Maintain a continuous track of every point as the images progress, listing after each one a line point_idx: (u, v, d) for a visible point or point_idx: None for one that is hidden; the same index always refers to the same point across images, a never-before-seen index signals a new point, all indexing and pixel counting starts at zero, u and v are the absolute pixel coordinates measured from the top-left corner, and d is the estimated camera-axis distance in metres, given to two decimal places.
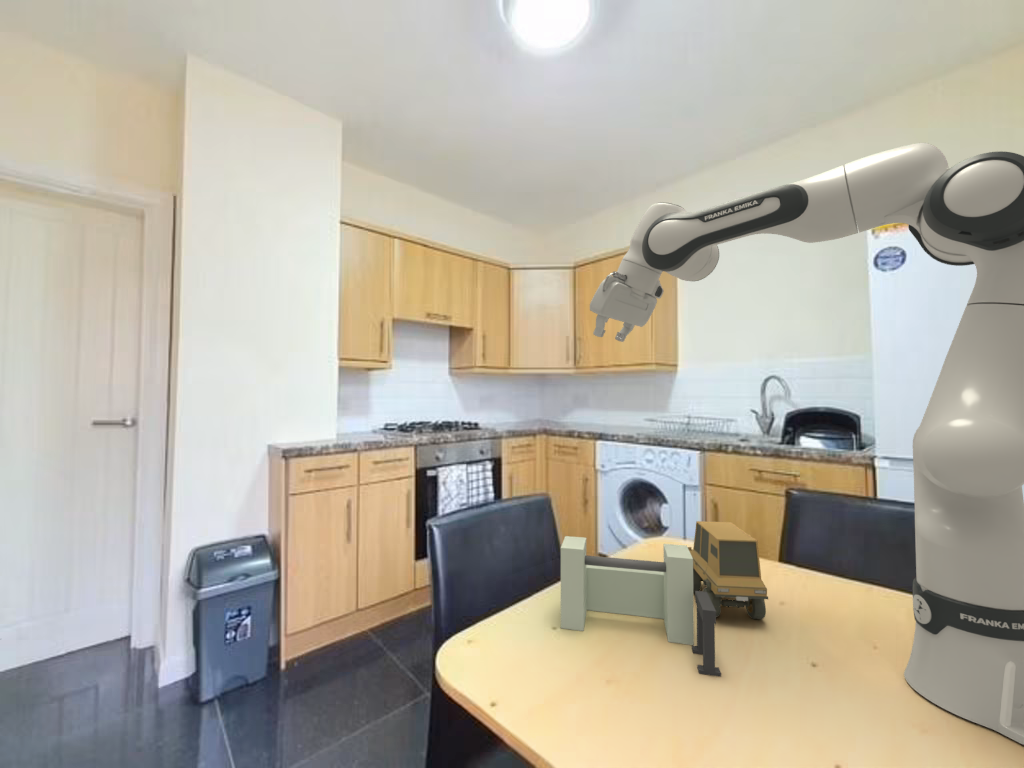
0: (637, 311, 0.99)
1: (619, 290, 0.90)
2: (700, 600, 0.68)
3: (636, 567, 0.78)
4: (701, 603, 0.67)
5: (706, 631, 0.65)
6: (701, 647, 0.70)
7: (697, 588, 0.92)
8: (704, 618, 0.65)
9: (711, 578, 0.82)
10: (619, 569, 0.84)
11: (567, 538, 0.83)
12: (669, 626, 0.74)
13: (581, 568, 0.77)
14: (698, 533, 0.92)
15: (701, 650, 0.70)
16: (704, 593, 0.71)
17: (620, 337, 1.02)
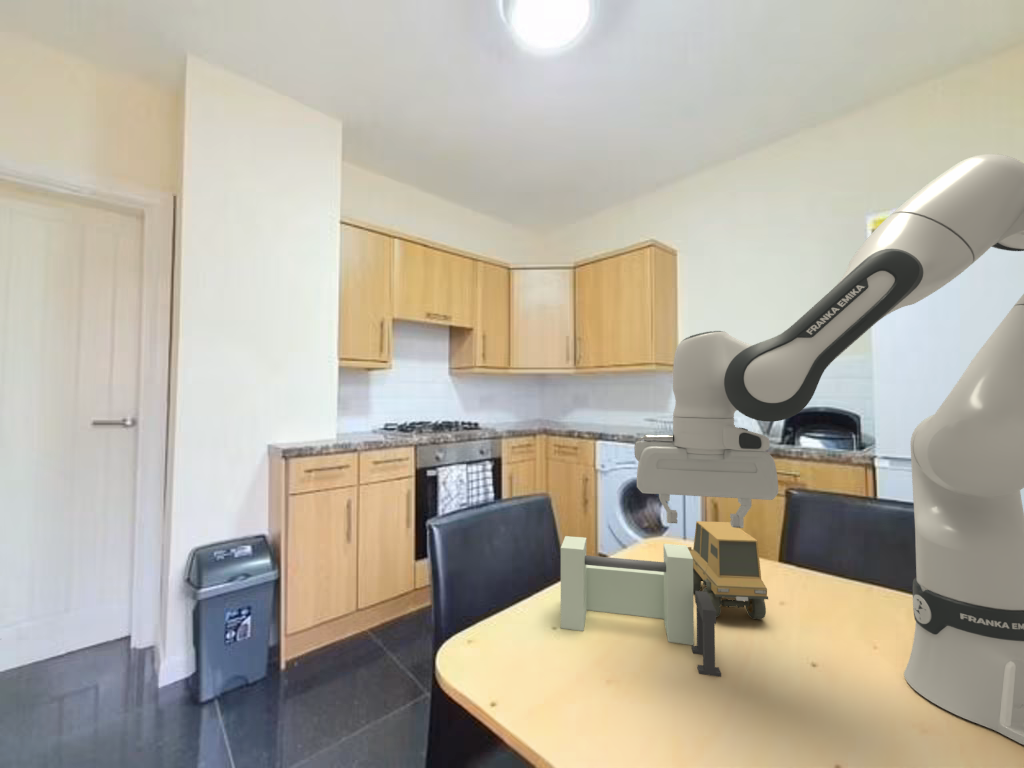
0: (730, 478, 0.66)
1: (656, 456, 0.69)
2: (700, 600, 0.68)
3: (636, 567, 0.78)
4: (701, 603, 0.67)
5: (706, 631, 0.65)
6: (701, 647, 0.70)
7: (697, 588, 0.92)
8: (704, 618, 0.65)
9: (711, 578, 0.82)
10: (619, 569, 0.84)
11: (567, 538, 0.83)
12: (669, 626, 0.74)
13: (581, 568, 0.77)
14: (698, 533, 0.92)
15: (701, 650, 0.70)
16: (704, 593, 0.71)
17: (732, 521, 0.67)
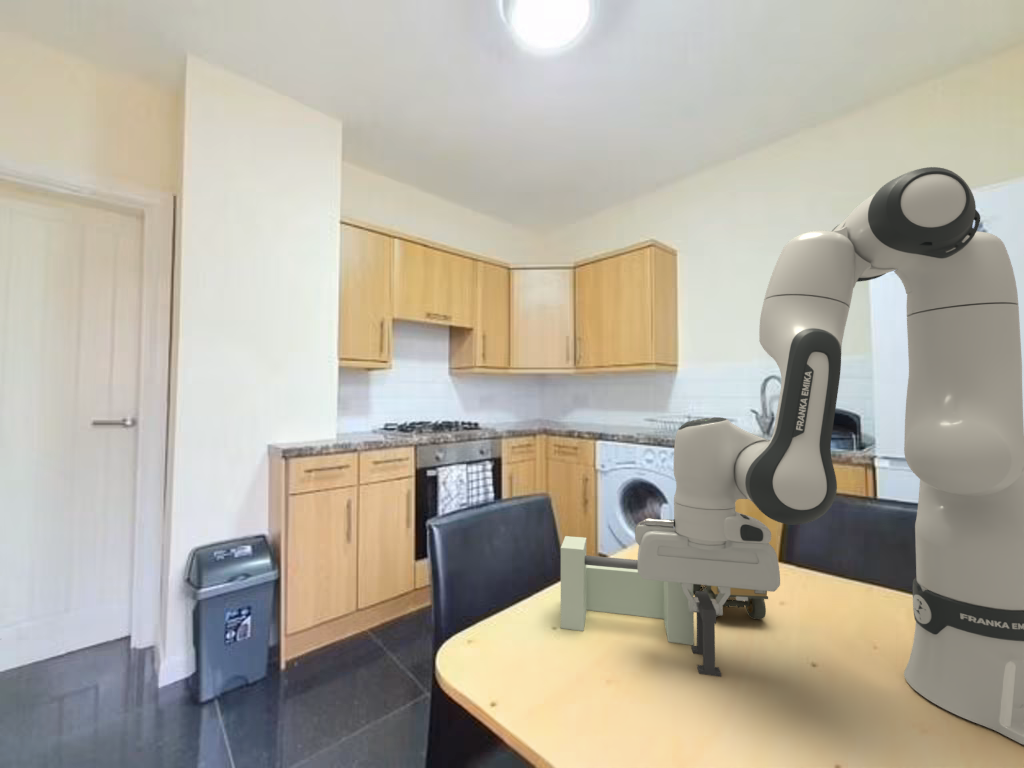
0: (732, 568, 0.66)
1: (657, 542, 0.69)
2: (700, 600, 0.68)
3: (636, 567, 0.78)
4: (701, 603, 0.67)
5: (706, 631, 0.65)
6: (701, 647, 0.70)
7: (697, 588, 0.92)
8: (704, 618, 0.65)
9: None
10: (619, 569, 0.84)
11: (567, 538, 0.83)
12: (669, 626, 0.74)
13: (581, 568, 0.77)
14: None
15: (701, 650, 0.70)
16: (704, 593, 0.71)
17: None
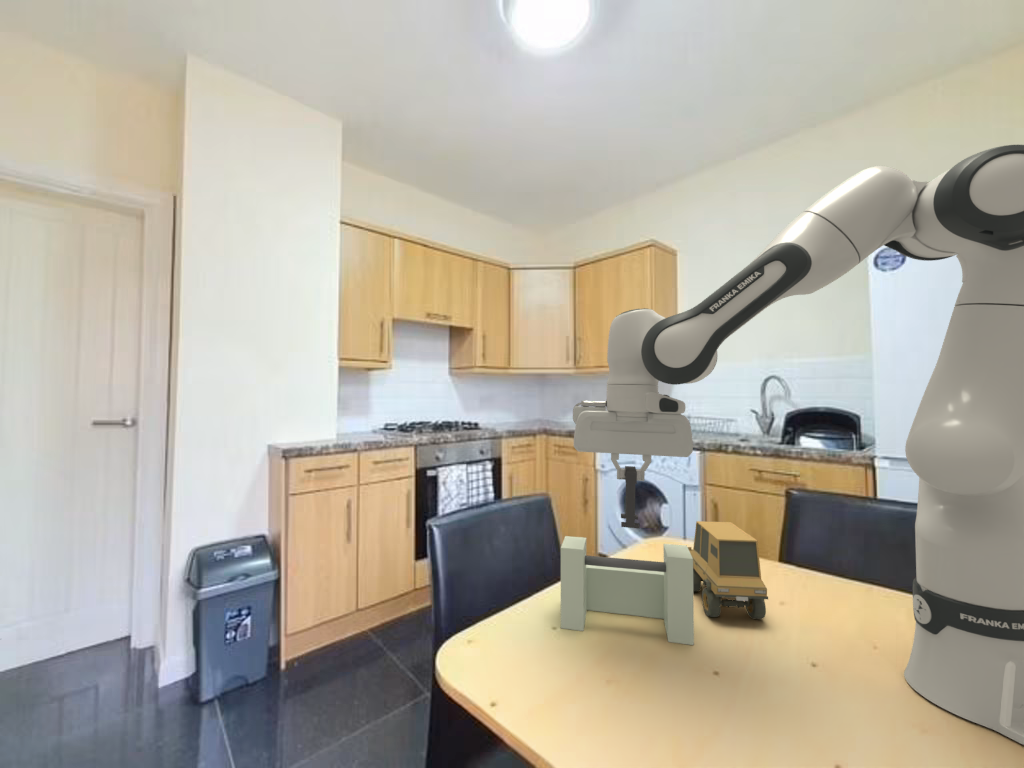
0: (652, 438, 0.76)
1: (590, 418, 0.78)
2: (626, 469, 0.78)
3: (636, 567, 0.78)
4: (626, 470, 0.77)
5: (628, 490, 0.75)
6: None
7: (697, 588, 0.92)
8: (627, 479, 0.75)
9: (711, 578, 0.82)
10: (619, 569, 0.84)
11: (567, 538, 0.83)
12: (669, 626, 0.74)
13: (581, 568, 0.77)
14: (698, 533, 0.92)
15: None
16: (632, 467, 0.81)
17: None
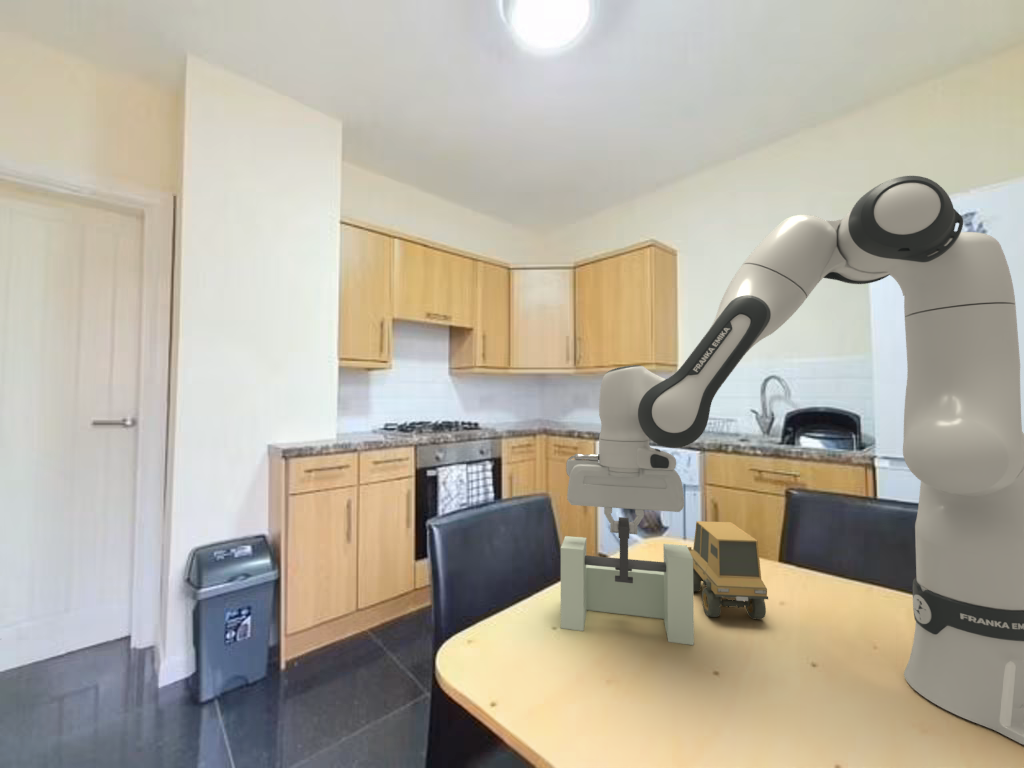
0: (644, 492, 0.77)
1: (583, 473, 0.80)
2: (619, 522, 0.79)
3: (636, 567, 0.78)
4: (619, 523, 0.78)
5: (621, 545, 0.76)
6: None
7: (697, 588, 0.92)
8: (620, 534, 0.76)
9: (711, 578, 0.82)
10: None
11: (567, 538, 0.83)
12: (669, 626, 0.74)
13: (581, 568, 0.77)
14: (698, 533, 0.92)
15: None
16: (625, 518, 0.82)
17: (629, 528, 0.79)
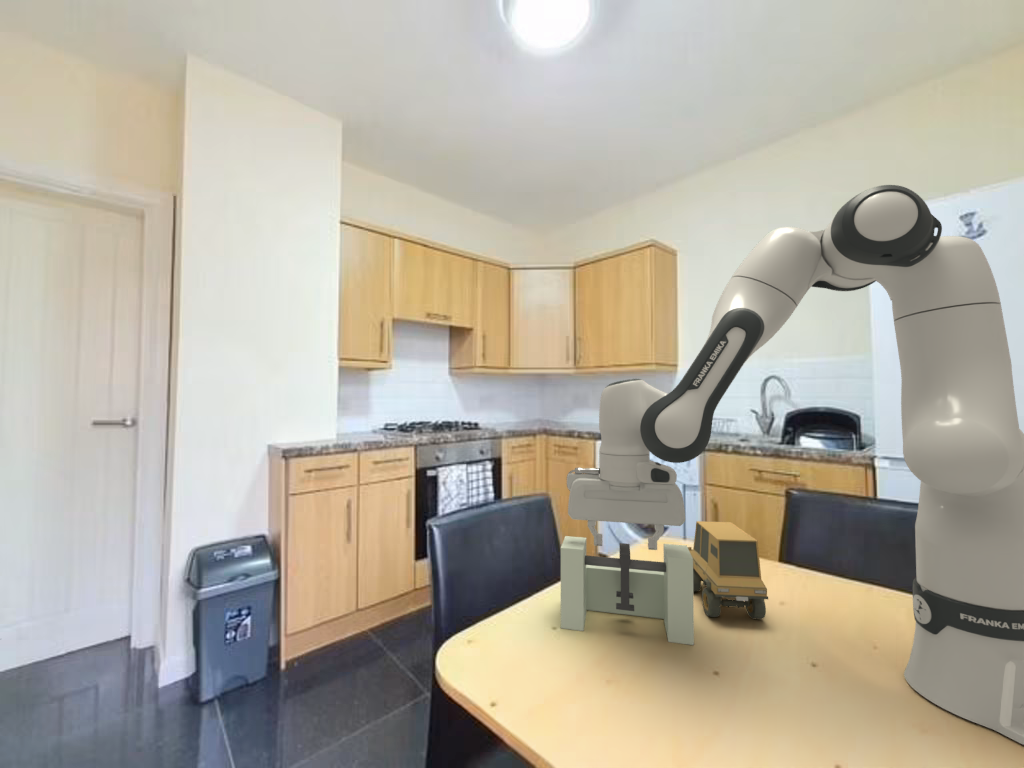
0: (645, 506, 0.77)
1: (584, 487, 0.79)
2: (620, 548, 0.79)
3: (636, 567, 0.78)
4: (620, 550, 0.78)
5: (622, 572, 0.76)
6: None
7: (697, 588, 0.92)
8: (621, 561, 0.76)
9: (711, 578, 0.82)
10: (619, 569, 0.84)
11: (567, 538, 0.83)
12: (669, 626, 0.74)
13: (581, 568, 0.77)
14: (698, 533, 0.92)
15: None
16: (626, 544, 0.82)
17: (648, 544, 0.78)
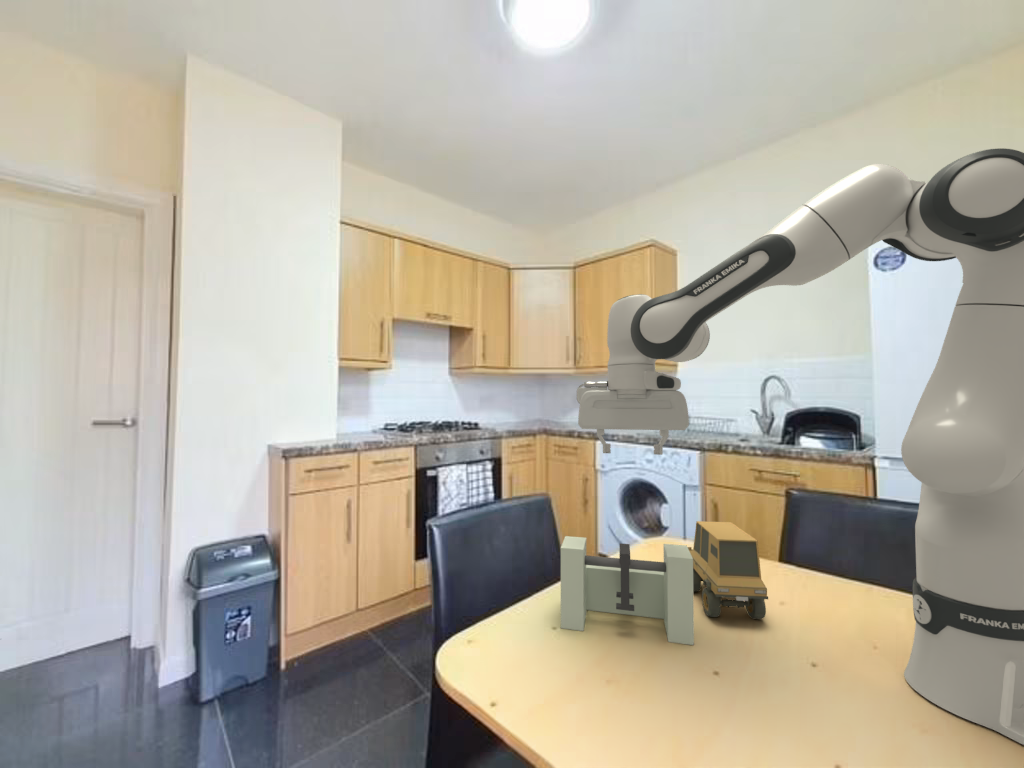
0: (651, 413, 0.82)
1: (593, 397, 0.84)
2: (620, 548, 0.79)
3: (636, 567, 0.78)
4: (620, 550, 0.78)
5: (622, 572, 0.76)
6: None
7: (697, 588, 0.92)
8: (621, 561, 0.76)
9: (711, 578, 0.82)
10: (619, 569, 0.84)
11: (567, 538, 0.83)
12: (669, 626, 0.74)
13: (581, 568, 0.77)
14: (698, 533, 0.92)
15: None
16: (626, 544, 0.82)
17: (654, 449, 0.83)
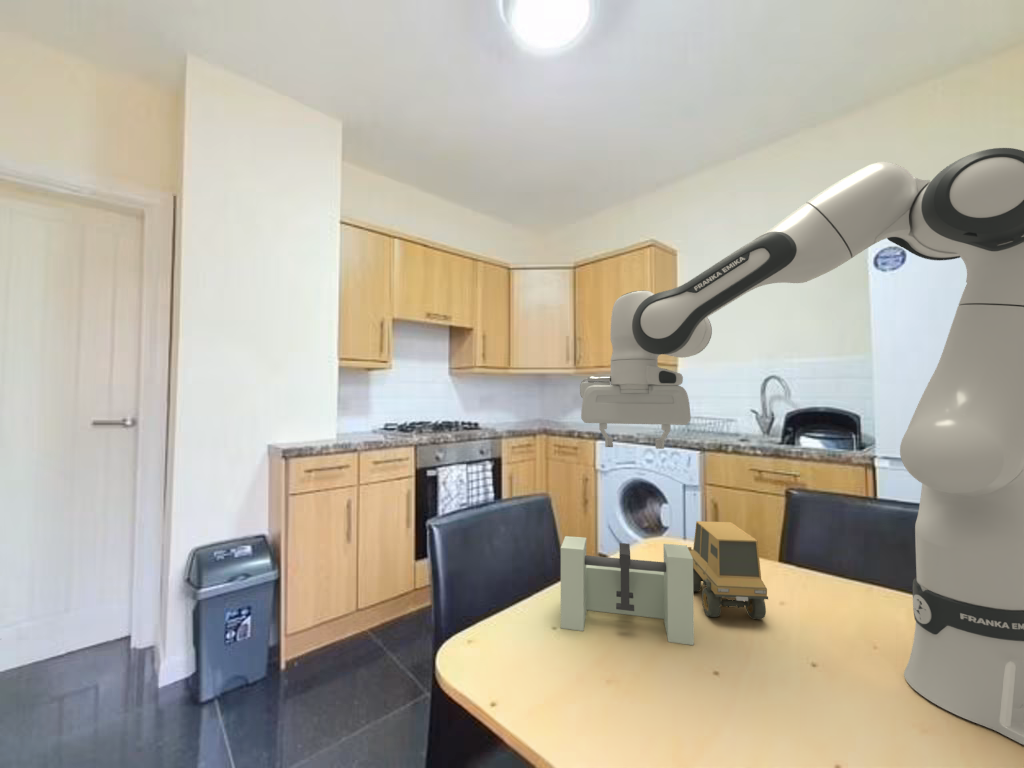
0: (653, 408, 0.83)
1: (596, 392, 0.85)
2: (620, 548, 0.79)
3: (636, 567, 0.78)
4: (620, 550, 0.78)
5: (622, 572, 0.76)
6: None
7: (697, 588, 0.92)
8: (621, 561, 0.76)
9: (711, 578, 0.82)
10: (619, 569, 0.84)
11: (567, 538, 0.83)
12: (669, 626, 0.74)
13: (581, 568, 0.77)
14: (698, 533, 0.92)
15: None
16: (626, 544, 0.82)
17: (656, 443, 0.84)
